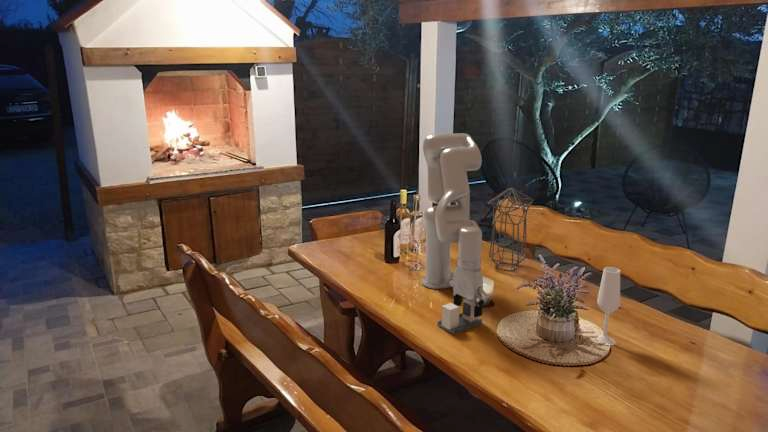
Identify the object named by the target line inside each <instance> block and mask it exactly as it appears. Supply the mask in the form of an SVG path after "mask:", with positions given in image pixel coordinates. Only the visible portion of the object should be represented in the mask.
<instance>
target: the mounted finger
mask: <svg viewBox="0 0 768 432" xmlns="http://www.w3.org/2000/svg"><path fill="white" fill-rule="evenodd" d="M459 314H460V306H456V305H454V303H452V302H449V303H446V304H444V305H441V320H442V324H441V325H442V326H444V327H446V328H448V329H449V330H450V329H453V328H455V327H458V326H459Z"/></svg>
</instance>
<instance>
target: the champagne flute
mask: <svg viewBox="0 0 768 432" xmlns="http://www.w3.org/2000/svg"><path fill="white" fill-rule="evenodd" d="M599 285H600V287H599V290H598V295H597V300H596V303H597V307H599V309H601V311H602V312H604V322H603V323H604V324H603V333H602V334H600V335H597V336H598V337H597V338H596V339H597V340H598V341H599V342H602V343H608V344H610V345H611V346H615V345H616V343H617V342H616V340H614V339H613V338H612V337H610V336H609V335H608V329H609V319H610V314H611V313H612V314H613V312H616V311H617V310H618V309H619V308H620V305H621V269H619V268H616V267H611V266H606V267H604V268H603V271H602V277H601V281H600V284H599ZM611 346H610V347H611Z"/></svg>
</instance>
